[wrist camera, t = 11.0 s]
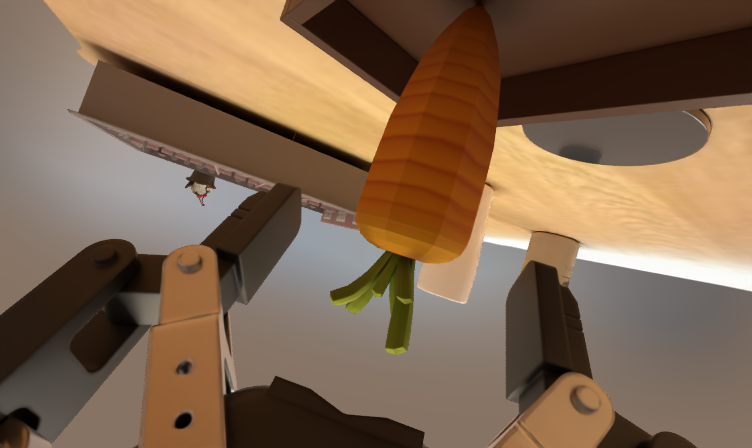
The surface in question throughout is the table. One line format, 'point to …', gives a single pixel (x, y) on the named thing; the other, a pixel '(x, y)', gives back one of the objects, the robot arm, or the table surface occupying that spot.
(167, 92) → the organizer tray
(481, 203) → the drinking glass
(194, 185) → the sundae
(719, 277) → the table surface
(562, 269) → the travel mug
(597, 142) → the metal coaster
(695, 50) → the tray
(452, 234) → the carrot
